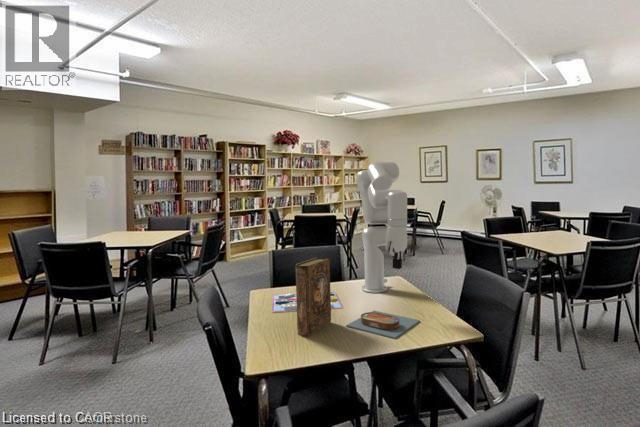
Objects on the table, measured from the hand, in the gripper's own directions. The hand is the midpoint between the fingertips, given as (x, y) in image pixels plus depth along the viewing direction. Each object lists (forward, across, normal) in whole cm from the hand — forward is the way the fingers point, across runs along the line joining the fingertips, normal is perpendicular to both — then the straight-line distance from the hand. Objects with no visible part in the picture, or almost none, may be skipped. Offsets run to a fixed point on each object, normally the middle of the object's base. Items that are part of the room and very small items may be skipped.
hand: (397, 268), depth 151 cm
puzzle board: (+21, +10, -41) cm, 47 cm away
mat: (+18, +13, +1) cm, 23 cm away
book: (+19, +32, -18) cm, 41 cm away
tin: (+17, +11, +1) cm, 20 cm away
